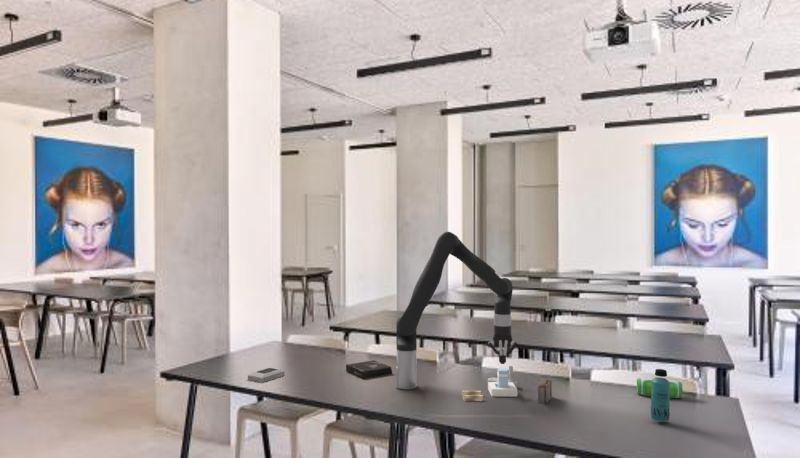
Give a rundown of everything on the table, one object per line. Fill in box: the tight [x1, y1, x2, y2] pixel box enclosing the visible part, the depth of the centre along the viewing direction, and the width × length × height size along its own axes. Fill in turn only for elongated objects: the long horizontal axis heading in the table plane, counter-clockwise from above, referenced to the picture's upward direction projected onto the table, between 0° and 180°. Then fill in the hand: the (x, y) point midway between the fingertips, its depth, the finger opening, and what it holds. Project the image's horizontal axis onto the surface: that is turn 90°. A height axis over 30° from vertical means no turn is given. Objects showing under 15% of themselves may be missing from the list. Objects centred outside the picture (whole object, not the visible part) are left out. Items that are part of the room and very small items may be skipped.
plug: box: [496, 368, 509, 388], centre depth 245 cm, size 4×4×10 cm
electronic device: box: [487, 365, 518, 389], centre depth 260 cm, size 5×10×15 cm
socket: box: [487, 381, 518, 398], centre depth 245 cm, size 11×11×4 cm
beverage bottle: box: [650, 368, 671, 422], centre depth 211 cm, size 6×7×20 cm
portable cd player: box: [345, 359, 393, 380], centre depth 282 cm, size 16×17×4 cm
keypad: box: [247, 366, 285, 384], centre depth 272 cm, size 10×4×15 cm
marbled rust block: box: [537, 379, 553, 405], centre depth 238 cm, size 11×3×10 cm, turn 150°
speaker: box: [636, 377, 684, 399], centre depth 244 cm, size 18×7×8 cm, turn 72°
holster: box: [461, 390, 484, 402], centre depth 238 cm, size 8×8×3 cm
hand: (502, 363), depth 245 cm, fingers closed
